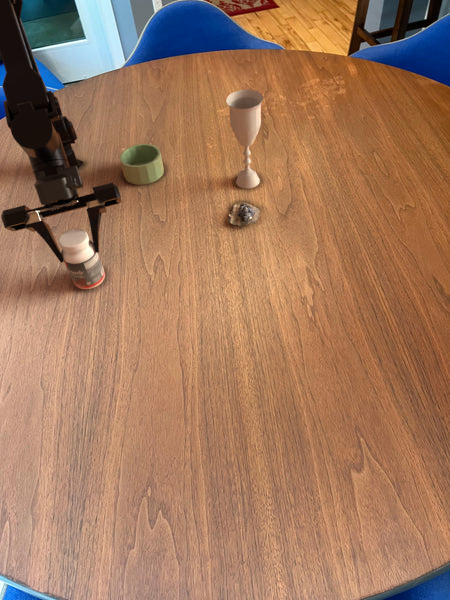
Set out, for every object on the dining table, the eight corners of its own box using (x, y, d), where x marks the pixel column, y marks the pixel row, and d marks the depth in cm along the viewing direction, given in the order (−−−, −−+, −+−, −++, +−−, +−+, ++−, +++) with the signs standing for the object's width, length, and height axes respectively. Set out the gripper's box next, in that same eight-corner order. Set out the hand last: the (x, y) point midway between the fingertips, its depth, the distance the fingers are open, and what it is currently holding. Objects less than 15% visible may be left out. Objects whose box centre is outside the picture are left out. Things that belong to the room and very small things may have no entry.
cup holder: (116, 177, 105) (111, 160, 102) (141, 157, 110) (137, 139, 107) (147, 189, 102) (142, 171, 98) (171, 167, 106) (168, 149, 103)
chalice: (261, 192, 98) (260, 109, 85) (228, 190, 100) (222, 108, 86) (266, 172, 103) (266, 90, 89) (235, 170, 104) (230, 88, 91)
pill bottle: (67, 283, 85) (47, 242, 78) (88, 263, 88) (71, 221, 81) (91, 294, 83) (73, 253, 75) (112, 273, 86) (97, 232, 78)
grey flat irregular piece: (230, 231, 91) (229, 223, 90) (222, 205, 96) (221, 198, 95) (264, 225, 92) (264, 217, 90) (255, 200, 97) (254, 192, 96)
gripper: (-25, 168, 69) (10, 272, 70) (103, 137, 72) (134, 237, 73) (-3, 183, 80) (27, 273, 81) (107, 156, 83) (134, 243, 84)
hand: (79, 257), depth 80 cm, fingers closed on pill bottle, 6 cm apart
